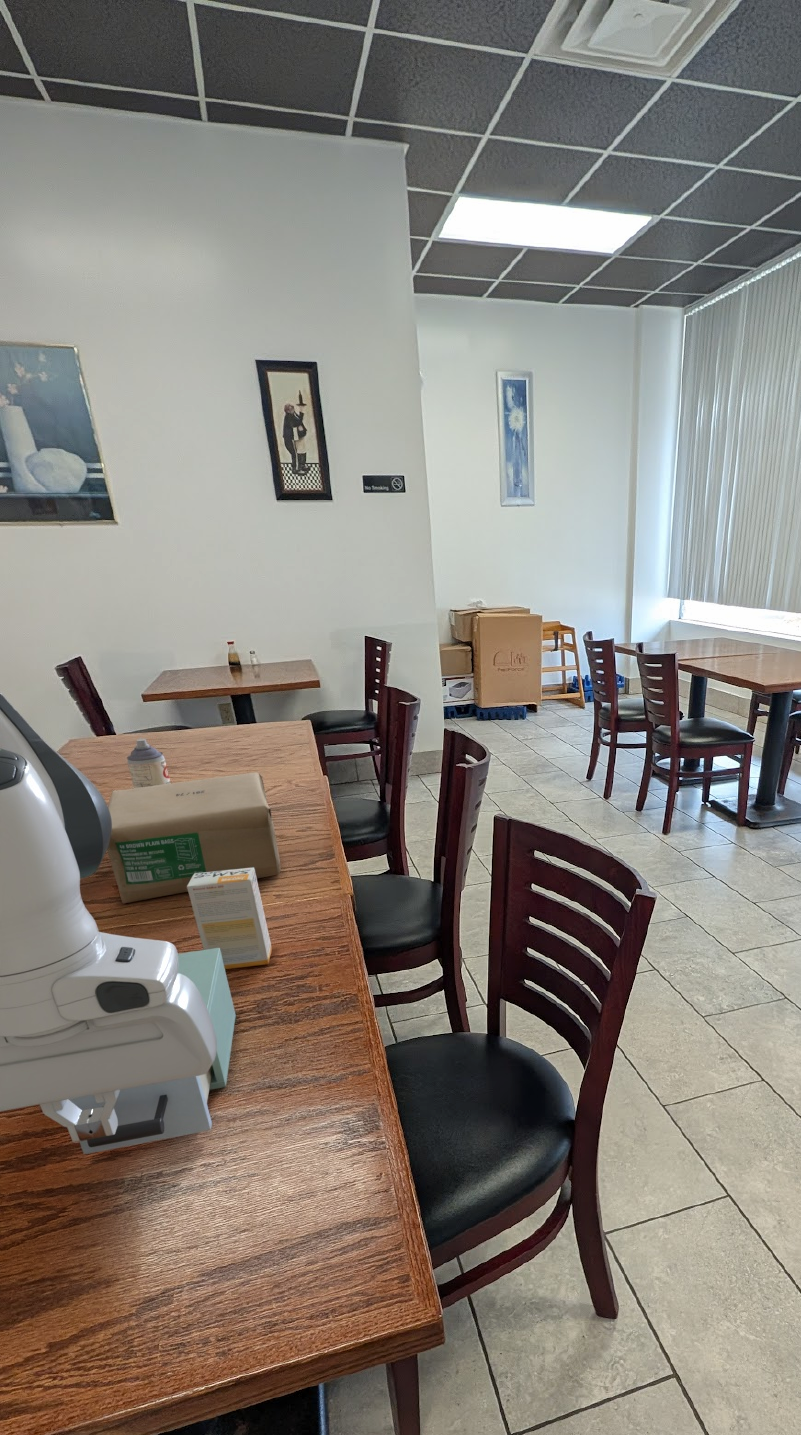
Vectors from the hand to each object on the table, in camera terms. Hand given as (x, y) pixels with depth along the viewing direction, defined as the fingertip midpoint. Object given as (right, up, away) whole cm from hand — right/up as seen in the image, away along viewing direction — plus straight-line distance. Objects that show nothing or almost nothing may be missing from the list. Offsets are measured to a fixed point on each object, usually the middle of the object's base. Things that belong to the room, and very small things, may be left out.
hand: (96, 1133), depth 59 cm
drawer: (-3, -3, +17) cm, 18 cm away
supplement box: (-6, +11, +48) cm, 49 cm away
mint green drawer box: (-6, +1, +27) cm, 28 cm away
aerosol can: (-40, +34, +98) cm, 111 cm away
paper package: (-25, +26, +81) cm, 88 cm away
